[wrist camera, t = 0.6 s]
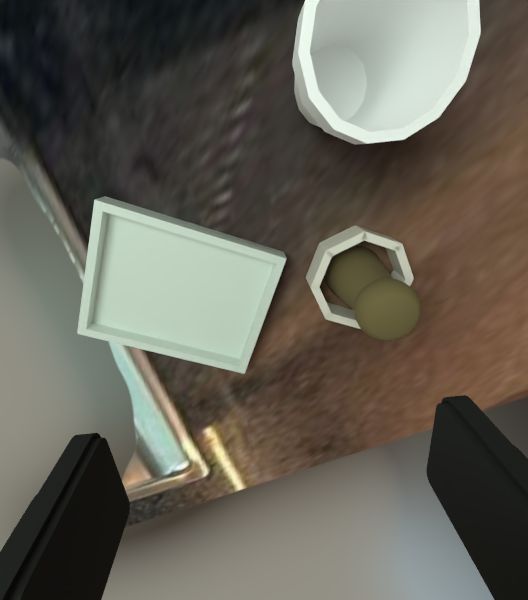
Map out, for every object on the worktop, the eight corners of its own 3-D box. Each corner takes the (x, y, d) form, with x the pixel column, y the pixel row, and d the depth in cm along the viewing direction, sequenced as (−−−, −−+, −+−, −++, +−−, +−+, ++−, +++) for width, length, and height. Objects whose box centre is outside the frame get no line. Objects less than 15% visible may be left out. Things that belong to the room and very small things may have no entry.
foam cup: (391, 127, 31) (484, 110, 19) (295, 162, 31) (325, 167, 20) (371, 1, 27) (472, -120, 15) (262, 44, 28) (276, -38, 16)
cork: (361, 233, 34) (409, 267, 24) (391, 275, 37) (447, 322, 26) (314, 270, 36) (341, 316, 26) (346, 309, 38) (382, 365, 28)
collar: (413, 244, 35) (427, 252, 32) (374, 322, 39) (383, 335, 36) (329, 216, 34) (337, 221, 31) (296, 300, 37) (300, 312, 34)
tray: (283, 251, 35) (286, 258, 32) (244, 361, 40) (244, 373, 38) (105, 196, 32) (94, 199, 29) (87, 322, 37) (77, 333, 35)
